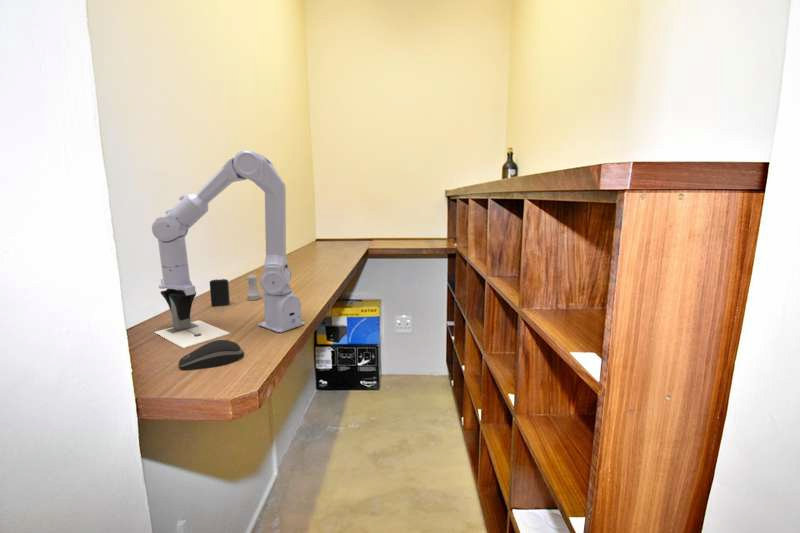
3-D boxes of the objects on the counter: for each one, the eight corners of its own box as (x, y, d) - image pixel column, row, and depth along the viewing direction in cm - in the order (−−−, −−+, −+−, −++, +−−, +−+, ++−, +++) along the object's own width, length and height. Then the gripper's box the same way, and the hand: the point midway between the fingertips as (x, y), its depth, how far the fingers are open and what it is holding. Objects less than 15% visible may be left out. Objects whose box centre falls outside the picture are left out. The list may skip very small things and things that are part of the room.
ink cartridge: (230, 303, 120) (228, 278, 118) (229, 305, 118) (227, 280, 116) (212, 304, 119) (210, 279, 117) (211, 306, 116) (209, 281, 115)
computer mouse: (179, 361, 79) (177, 343, 79) (242, 349, 85) (240, 333, 84) (178, 375, 73) (176, 356, 73) (246, 361, 79) (244, 343, 78)
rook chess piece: (256, 301, 122) (254, 276, 121) (243, 300, 123) (241, 276, 122) (263, 297, 126) (262, 273, 125) (251, 296, 127) (249, 273, 126)
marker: (191, 327, 97) (187, 293, 96) (178, 330, 95) (174, 296, 93) (186, 324, 99) (181, 291, 97) (173, 328, 97) (168, 294, 95)
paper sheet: (230, 334, 94) (230, 332, 94) (183, 348, 85) (183, 347, 85) (199, 321, 103) (198, 319, 103) (154, 333, 95) (153, 331, 95)
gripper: (145, 264, 95) (152, 316, 98) (170, 271, 86) (177, 328, 89) (175, 260, 101) (181, 309, 103) (201, 266, 92) (207, 320, 95)
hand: (181, 317), depth 97 cm, fingers closed on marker, 3 cm apart
